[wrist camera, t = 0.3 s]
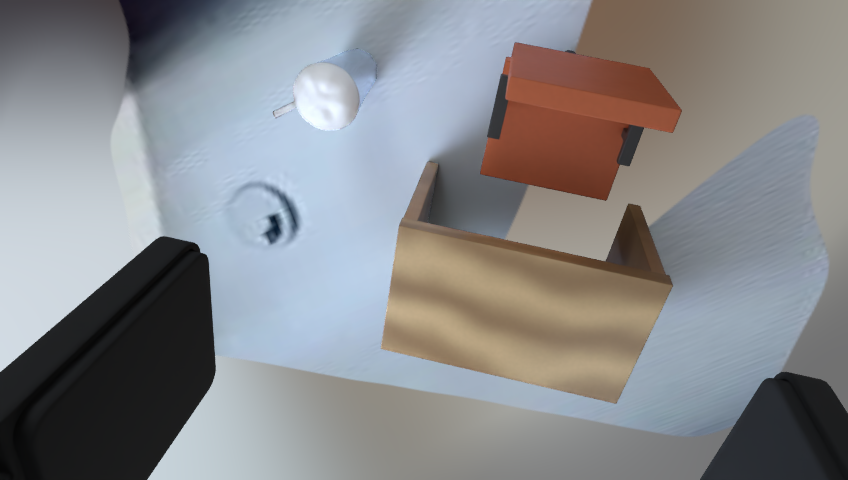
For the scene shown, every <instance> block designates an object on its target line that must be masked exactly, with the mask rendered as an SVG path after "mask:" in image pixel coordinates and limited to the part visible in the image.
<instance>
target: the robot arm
mask: <svg viewBox="0 0 848 480" xmlns="http://www.w3.org/2000/svg"><path fill="white" fill-rule="evenodd" d="M215 371H216V365H215V350H214V335H213V320H212V305H211V290H210V275H209V261H208V257H207V255H205V254H203V253H200V248H199V247H198V245H197V244H195V243H193V242H188V241H184V240H179V239H175V238H170V237H165V236H163V237H159V238H158V239H156V240H155V241H154V242H152V243H151V244H150V245H149V246H148V247H147V248H145V249H144V250H143V251H142V252H141V253H140V254H138V255H137V256H136V257H135V258H134V259H133V260H131V261H130V262H129V263H128V264H127V265H125V266H124V267H123V268H122V269H121V270H120V271H118V272H117V273H116V274H115V275H114V276H113V277H111V278H110V279H109V280H108V281H107V282H106V283H104V284H103V285H102V286H101V287H100V288H99V289H97V290H96V291H95V292H94V293H93V294H91V295H90V296H89V297H88V298H87V299H86V300H84V301H83V302H82V303H81V304H80V305H79V306H77V307H76V308H75V309H74V310H73V311H72V312H71V313H69V314H68V315H67V316H66V317H65V318H63V319H62V320H61V321H60V322H59V323H58V324H56V325H55V326H54V327H53V328H52V329H51V330H50V331H48V332H47V333H46V334H45V335H44V336H42V337H41V338H40V339H39V340H38V341H37V342H35V343H34V344H33V345H32V346H31V347H29V348H28V349H27V350H26V351H25V352H24V353H22V354H21V355H20V356H19V357H18V358H17V359H15V360H14V361H13V362H12V363H11V364H9V365H8V366H7V367H6V368H5V369H4V370H2V371H1V372H0V480H147V479H148V478H149V476H150V475H151V473H152V472H153V470H154V469H155V467H156V466H157V464H158V463H159V462H160V460H161V459H162V457H163V456H164V454H165V453H166V451H167V450H168V448H169V447H170V445H171V444H172V443H173V441H174V439H175V438H176V437H177V435H178V434H179V432H180V431H181V429H182V428H183V426H184V425H185V424H186V422H187V421H188V419H189V418H190V416H191V415H192V413H193V412H194V410H195V409H196V407H197V406H198V405H199V403H200V402H201V400H202V399H203V397H204V396H205V394H206V393H207V391H208V390H209V388H210V386H211V384H212V382H213V379H214V376H215ZM700 480H848V413H847V411H846V410H845V408H844V407H843V405H842V404H841V402H840V401H839V399H838V398H837V396H836V394H835V393H834V391H833V390H832V389H831V387H830V386H829V385H828V384H827V382H825V381H823V380H821V379H816V378H812V377H807V376H802V375H798V374H793V373H789V372H781V373H779V374H777V375H776V376H775V377H774V378H767V379H765V380H764V381H763V382H762V383H761V385H760V386H759V388H758V389H757V391H756V393H755V394H754V396H753V397H752V399H751V400H750V402H749V404H748V405H747V407H746V408H745V410H744V411H743V413H742V415H741V416H740V418H739V419H738V421H737V422H736V424H735V426H734V427H733V429H732V430H731V432H730V433H729V435H728V436H727V438H726V440H725V441H724V443H723V444H722V446H721V447H720V449H719V451H718V452H717V454H716V456H715V457H714V459H713V460H712V462H711V463H710V465H709V466H708V468H707V469H706V471H705V473H704V474H703V476H702V477H701V479H700Z"/></svg>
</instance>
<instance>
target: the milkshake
mask: <svg viewBox="0 0 848 480" xmlns="http://www.w3.org/2000/svg"><path fill="white" fill-rule="evenodd" d="M376 79H377V64H376V62H375V61H374V59H373V57H372V56H371V54H370V53H368V52H366V51H363V50H361V49H359V48H356V49H352V50H348V51H344V52H342V53H340V54H337V55H335V56H333V57H331V58H328V59H326V60H323V61H320V62H317V63H314V64H311V65H309V66H307V67H305V68H304V69H303V70H302V71H301V72H300V73H299V75H298V76H297V78H296V80H295V82H294V85H293V97H294V102H292V103H289V104H287V105H285V106H283V107H281V108H279V109H277V110H275V111H273V115H274V117H275V118H278V117H280V116H282V115H284V114H286V113H288V112H290V111H292V110H294V109H296V108H297V109H298V111H299V113H300V115H301V116H302V117H303V119H304V120H305V121H307V122H308V123H309V124H311V125H313V126H314V127H316V128H319V129H322V130H339V129H342V128H344V127H346V126H348V125H349V124H350V123H351V122H352V121H353V120H354V118H355V117H356V115H357V113H358V111H359V109H360V107H361V105H362V103H363V101H364V99H365V97H366V96H367V94H368V92H369V91H370V89H371V87H372V86H373V84H374V83H375V81H376Z"/></svg>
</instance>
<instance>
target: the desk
mask: <svg viewBox="0 0 848 480" xmlns="http://www.w3.org/2000/svg"><path fill="white" fill-rule="evenodd" d="M437 170H438V164H437V163H432V162H427V163H426V166H425V168H424V171H423V173H422V175H421V178H420V180H419V182H418V185H417V187H416V190H415V192H414V194H413V197H412V199H411V201H410V204H409V206H408V208H407V211H406V213H405V216H404V218H402V220H401V222H400V225H399V229H398V236H397V243H396V250H395V256H394V263H393V270H392V276H391V283H390V290H389V296H388V303H387V310H386V317H385V323H384V330H383V337H382V343H381V349H384V350H388V351H392V352H397V353H401V354H405V355H409V356H414V357H418V358H422V359H427V360H431V361H435V362H439V363H444V364H448V365H452V366H457V367H461V368H465V369H470V370H474V371H478V372H482V373H487V374H491V375H495V376H500V377H504V378H508V379H512V380H517V381H521V382H525V383H530V384H534V385H538V386H542V387H547V388H551V389H555V390H560V391H564V392H568V393H573V394H577V395H581V396H585V397H590V398H594V399H598V400H603V401H607V402H611V403H615V404H616V403H617V401H618V399H619V397H620V395H621V393H622V391H623V389H624V387H625V385H626V382H627V380H628V378H629V376H630V374H631V372H632V370H633V368H634V366H635V364H636V362H637V360H638V358H639V355H640V353H641V351H642V349H643V347H644V345H645V343H646V341H647V339H648V337H649V335H650V333H651V330H652V328H653V326H654V324H655V322H656V320H657V318H658V316H659V314H660V312H661V310H662V308H663V306H664V303H665V301H666V299H667V297H668V295H669V293H670V291H671V289H672V287H673V284H672V281H671V279H670V276H669V275H666V273H665V271H664V268H663V265H662V263H661V260H660V257H659V255H658V252H657V249H656V247H655V244H654V241H653V239H652V236H651V233H650V231H649V228H648V225H647V223H646V220H645V217H644V215H643V212H642V210H641V207H640V206H638V205H633V204H628V206H627V208H626V211H625V213H624V216H623V219H622V221H621V224H620V227H619V229H618V231H617V234H616V236H615V239H614V242H613V244H612V247H611V249H610V252H609V254H608V257H607V259H606V262H605V261H601V260H596V259H591V258H587V257H582V256H578V255H572V254H568V253H564V252H559V251H555V250H550V249H545V248H541V247H536V246H531V245H527V244H522V243H518V242H513V241H508V240H504V239H499V238H495V237H490V236H486V235H481V234H476V233H472V232H467V231H462V230H458V229H453V228H449V227H444V226H439V225H435V224H430V223H428V220H429V215H430V209H431V204H432V198H433V193H434V187H435V182H436V176H437Z"/></svg>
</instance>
